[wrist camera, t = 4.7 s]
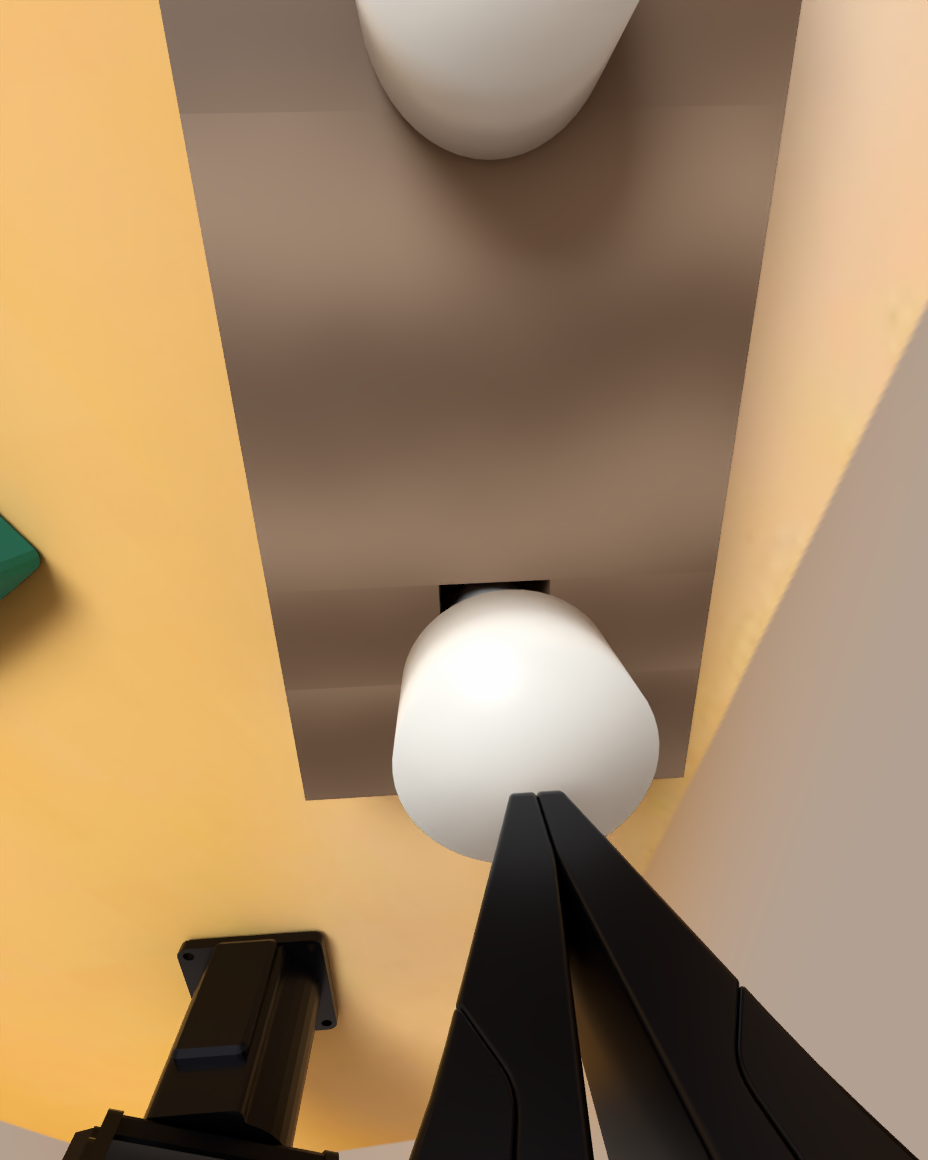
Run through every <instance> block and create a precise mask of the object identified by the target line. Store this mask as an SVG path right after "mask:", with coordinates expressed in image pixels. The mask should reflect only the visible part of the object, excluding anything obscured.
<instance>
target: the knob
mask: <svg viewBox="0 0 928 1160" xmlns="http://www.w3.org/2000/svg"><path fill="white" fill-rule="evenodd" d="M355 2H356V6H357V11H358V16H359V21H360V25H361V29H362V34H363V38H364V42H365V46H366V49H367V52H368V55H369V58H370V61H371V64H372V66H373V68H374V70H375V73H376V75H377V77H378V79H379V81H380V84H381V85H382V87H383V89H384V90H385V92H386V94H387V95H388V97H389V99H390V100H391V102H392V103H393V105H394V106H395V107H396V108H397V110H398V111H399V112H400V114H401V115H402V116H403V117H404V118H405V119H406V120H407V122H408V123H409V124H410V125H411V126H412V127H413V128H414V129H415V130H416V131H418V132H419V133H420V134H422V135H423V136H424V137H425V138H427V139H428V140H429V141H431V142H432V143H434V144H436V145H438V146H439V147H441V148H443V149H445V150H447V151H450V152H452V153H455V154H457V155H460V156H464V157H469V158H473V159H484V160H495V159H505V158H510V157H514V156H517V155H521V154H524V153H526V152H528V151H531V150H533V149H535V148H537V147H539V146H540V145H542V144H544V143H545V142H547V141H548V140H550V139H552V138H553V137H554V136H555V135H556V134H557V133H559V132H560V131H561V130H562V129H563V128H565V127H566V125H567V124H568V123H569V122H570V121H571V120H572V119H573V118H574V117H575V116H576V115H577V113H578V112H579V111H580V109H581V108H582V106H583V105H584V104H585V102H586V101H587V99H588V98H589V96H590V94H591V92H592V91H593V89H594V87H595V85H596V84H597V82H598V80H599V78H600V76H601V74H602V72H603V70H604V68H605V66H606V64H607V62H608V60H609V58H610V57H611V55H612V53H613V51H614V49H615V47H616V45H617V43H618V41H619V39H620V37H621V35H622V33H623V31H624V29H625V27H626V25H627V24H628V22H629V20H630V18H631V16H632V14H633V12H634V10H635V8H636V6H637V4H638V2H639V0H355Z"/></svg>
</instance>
